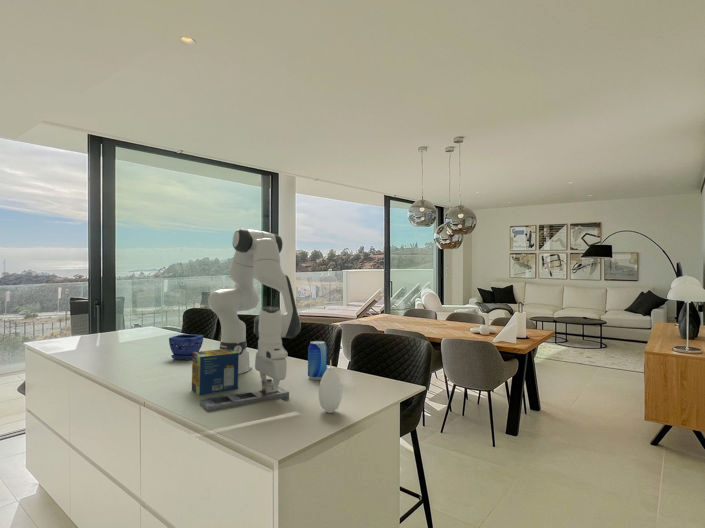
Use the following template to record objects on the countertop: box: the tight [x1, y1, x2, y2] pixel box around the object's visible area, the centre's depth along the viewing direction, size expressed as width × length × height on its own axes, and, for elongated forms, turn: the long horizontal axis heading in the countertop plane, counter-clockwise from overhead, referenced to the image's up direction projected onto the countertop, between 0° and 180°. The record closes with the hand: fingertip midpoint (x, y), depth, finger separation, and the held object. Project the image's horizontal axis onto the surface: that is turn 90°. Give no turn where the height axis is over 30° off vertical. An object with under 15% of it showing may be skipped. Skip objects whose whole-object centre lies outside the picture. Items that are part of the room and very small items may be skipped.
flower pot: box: [168, 333, 204, 361], centre depth 220 cm, size 13×13×12 cm
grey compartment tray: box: [199, 385, 290, 412], centre depth 148 cm, size 9×30×2 cm, turn 126°
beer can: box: [307, 340, 328, 381], centre depth 184 cm, size 8×8×16 cm
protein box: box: [191, 348, 239, 396], centre depth 162 cm, size 10×15×16 cm
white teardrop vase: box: [318, 359, 343, 414], centre depth 140 cm, size 8×8×18 cm
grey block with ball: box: [261, 378, 277, 395], centre depth 154 cm, size 4×4×6 cm
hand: (269, 386), depth 154 cm, fingers open, 8 cm apart
